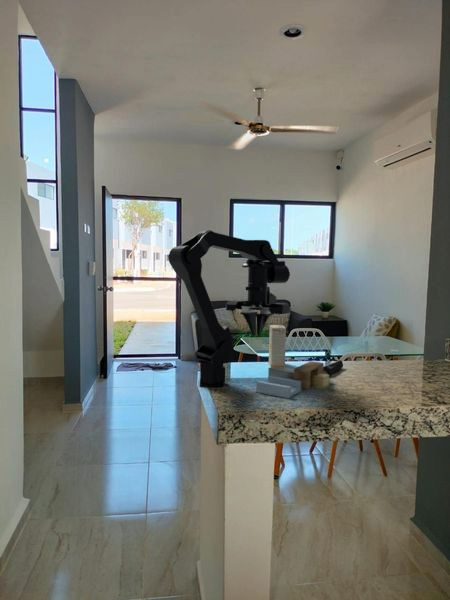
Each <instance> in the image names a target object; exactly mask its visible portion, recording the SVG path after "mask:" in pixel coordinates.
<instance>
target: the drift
mask: <svg viewBox="0 0 450 600" xmlns="http://www.w3.org/2000/svg"><path fill="white" fill-rule="evenodd" d="M269 376H273V377H279V378H285V379H291V380H294V369H293V368H288V367H278V366H274V367H271V366H270V367H268V376H267V378H268V377H269Z"/></svg>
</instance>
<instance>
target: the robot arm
mask: <svg viewBox="0 0 450 600" xmlns="http://www.w3.org/2000/svg"><path fill="white" fill-rule="evenodd" d="M210 248H212V249H218V250H222V251H226V252H232V253H236V254H238V255H240V256H242V257H243V258H245V259H247V260H246V262H245V263H243V264H242V265H241V266H242V268H243V269H244V268H247V269H248V272H247V274H248V275H247V276H248V277H247V280H248V281H247V286H245V291H247V300H236V299H235V300H234V299H233V300H227V302H226V304H225V311H231V312H232V311H233V312H235V311H236V310H241V312H239V313H240V315H242V316H243V319H244V320H245V321H246V323H247V325H248V328H249V330H250V332H251V334H252V336H253V337H256V334H257V337H259V338H260V337H261V335H262V333H263V331H264V328H265V325H266V324H267V321H268V319H269V318H270V317H271V316H274V315H286V314H290V313H291V306H290V304H289V303H287V302H286V303H285V302H277V296H276V295H275V294H273V293H272V292H270V291H271V288H270V286H268V284H286V283H287V282H288V281H289V280H290V275H291V272H290V269H289V267H288V266H287V265H286V261H285V260H279V259H278V258H277V256H276V254H275V252H274V250H273V248H272V246H271V242H270V241H269V240H266V239H244V238H243V239H242V238H239V237H235V236H231V235H228V234H223V233H219V232H215V231H213V230H209V229H208V230H201V231H199V232H198V233H197V234H195V235H194V236H193V237H191V238H189V239H188V240H186V241H185V242H183V243H181V244H180V245H179V246H178V245H177V246H174V247H173V248H171V250H169V253H168V256H167V258H168V259H167V260H168V262H169V264H170V266H171V267H172V270H173V271H174V273H175V274H177V276H178V277H179V278H180V279H181V280H182V281H183V283H184V285H185V289H186V291H187V293H188V296H189V298H190V301H191V303H192V306H193V309H194V312H195V313H196V316H197V319H198V321H199V323H200V326H201V342H202V344H201V345H200V346H199V347H198V348H197V350H195V352H194V354H195V355H194V356H195V358H196V360H198V361H200V364H199V370H200V371H199V373H200V374H199V376H200V377H199V386H200V387H224V386H225V385H224V383H226V365H224V364H228V362H229V359H230V356H231V353H232V351H233V348H234V342H233V341H235V339H234V338H233V336H232V334H231V330H230V327H229V326H226V325H221V324H220V322H219V320H218V318H217V315H216V314H217V313H216V311H215V309H214V306H213V304H212V301H211V298H210V296H209V293H208V291H207V288H206V285H205V283H204V279H203V277H202V272H203V271H202V269H203V262H202V258H203V257H204V256H205V255H206V254H207V253H208V251H209V250H210Z"/></svg>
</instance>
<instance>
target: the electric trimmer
mask: <svg viewBox="0 0 450 600" xmlns="http://www.w3.org/2000/svg"><path fill="white" fill-rule="evenodd" d="M343 368H344V363H343V361H342V360H337V361H334V362H333V363H330V364H328V365H324V368H323V374H329V378H330V377H331V375H332V374H334V373H338V372H340V371H341V370H342V369H343Z"/></svg>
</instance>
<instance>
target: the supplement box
mask: <svg viewBox="0 0 450 600" xmlns="http://www.w3.org/2000/svg"><path fill="white" fill-rule="evenodd" d="M268 338H269V341H268V344H269V347H268V363H269V366H270V367H274V366H278V367H284V368H286V343H287V342H286V340H287V339H286V338H287V329H286V327H285V326H284V325H282V324H280V325H277V324H276V325H275V324H274V325H271V324H270V325H269V337H268Z"/></svg>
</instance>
